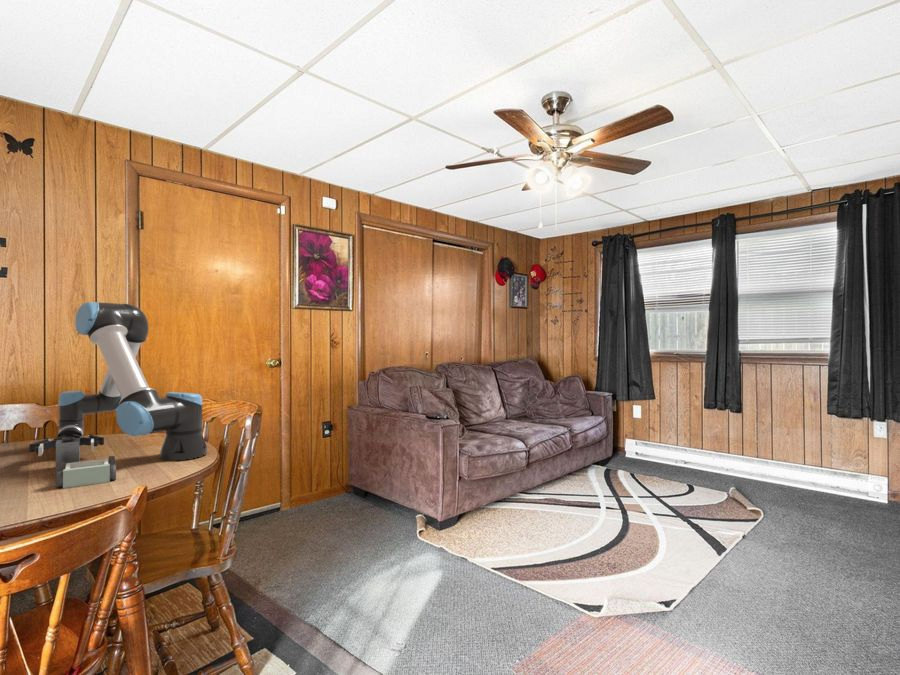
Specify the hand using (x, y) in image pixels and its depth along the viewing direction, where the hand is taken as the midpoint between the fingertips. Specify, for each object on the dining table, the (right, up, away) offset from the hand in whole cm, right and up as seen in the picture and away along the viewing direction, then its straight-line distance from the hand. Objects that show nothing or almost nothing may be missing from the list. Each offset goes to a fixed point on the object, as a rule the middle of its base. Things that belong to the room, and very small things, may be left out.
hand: (66, 449), depth 161 cm
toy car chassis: (+15, -6, -11) cm, 20 cm away
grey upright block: (+1, -6, -1) cm, 6 cm away
